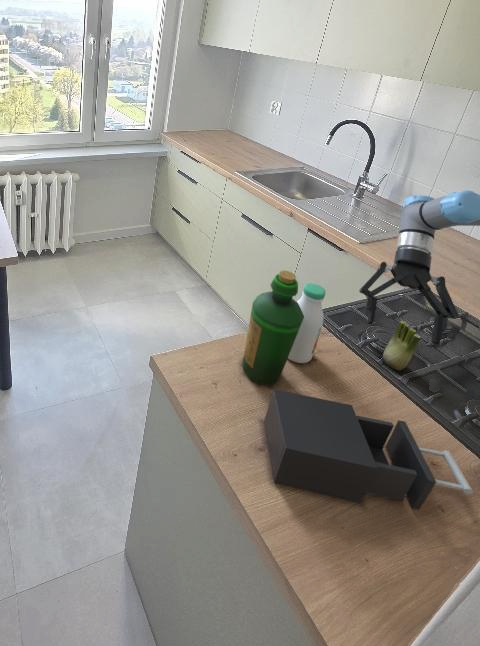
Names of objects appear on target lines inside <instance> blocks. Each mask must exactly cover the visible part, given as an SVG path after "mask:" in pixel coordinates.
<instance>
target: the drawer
mask: <svg viewBox="0 0 480 646" xmlns="http://www.w3.org/2000/svg"><path fill="white" fill-rule="evenodd" d="M356 416H357V419H358V421H359V424H360V426H361V429H362V431H363V433H364V436H365V438H366V441H367V443H368V446H369V448H370V451H371V453H372V456H373V458H374V461H375V463H376V466H377V471H376V472H375V475H374V477H373V479H372V481H371V483H370V485H369V487H368V489H367V491H366V493H365V494H370V495H374V496H379V497H382V498H387V499H391V500H394V501H395V500H396V501H400V502H403V501H404V499H405V497H407V500H408V502H409V505H410V507H411V509H413V510H417V511H420V510H421V508H422V507H423V506H424V504H425V502H426V501H427V499H428V497H429V496H430V493H431V492H432V490H433V488H434V487H435V486H441V487H445V488H450V489H454V490H458V491H462V492H463V494H464V495H471V494H473V493H474V490H473V488H472V487H471V485H470V483H469V482H468V480H467V478H466V477H465V475H464V474H463V472H462V469H461V468H460V466H459V465H458V463H457V461H456V459H455V457H454V456H453V454H452V453H451V451H450V450H446V449H445V450H441V451H440V450H436V449H431V448H425V447H421V446H419V445H418V443H417V441H416V439H415V438H414V436H413V434H412V432H411V430H410V428H409V426H408V424H407V422H406V421H405V420H400V419H398V420H397V422H396V424H395V426H394V424H393V422H390V421H385V420H382V419H375V418H373V417H372V418H371V417H366V416H361V415H357V414H356ZM384 448H385V450H386V452H387V455H388V457H389V459H390V461H391V464H390V463H389V461H388V458H387V456H386V453H385V451H384ZM423 454H427V455H433V456H438V457H441V458H443V459H444V461H445V462H446V465H447V466H448V467H449V469H450V471H451V473H452V475H453V476H454V478H455V480H456V482H457V483H454V482H450V481H447V480H442V479H441V480H440V479H437V478H435V476H434V475H433V472H432V471H431V469H430V467H429V465H428V463H427V461H426V459H425V457H424V455H423Z"/></svg>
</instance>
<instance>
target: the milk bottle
mask: <svg viewBox="0 0 480 646" xmlns="http://www.w3.org/2000/svg"><path fill="white" fill-rule="evenodd" d="M301 293H302V296H301V297H300V298H299V299H298V300H297V301H296V302H297V303H298V304H299V306H300V308H301V311H302V313H303V315H304V319H303V321H302V324H301V326H300V329H299V331H298V334H297V336H296V339H295V341H294V344H293V346H292V349H291V351H290V354H289V356H288V359H287V360H290V361H292V362H294V363H297V364H306V363H309V362H310V361H311V360H312V358H313V357H314V354H315V351H316V347H317V345H318V342H319V339H320V336H321V332H322V328H323V325H324V320H325V317H324V310H323V307H322V306H323V305H322V302H323V301H324V299H325V296H326V290H325V288H324V287H323V286H322V285H320V284H317V283H312V282H308V283H305V285H304V286H303V290H302V292H301Z"/></svg>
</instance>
